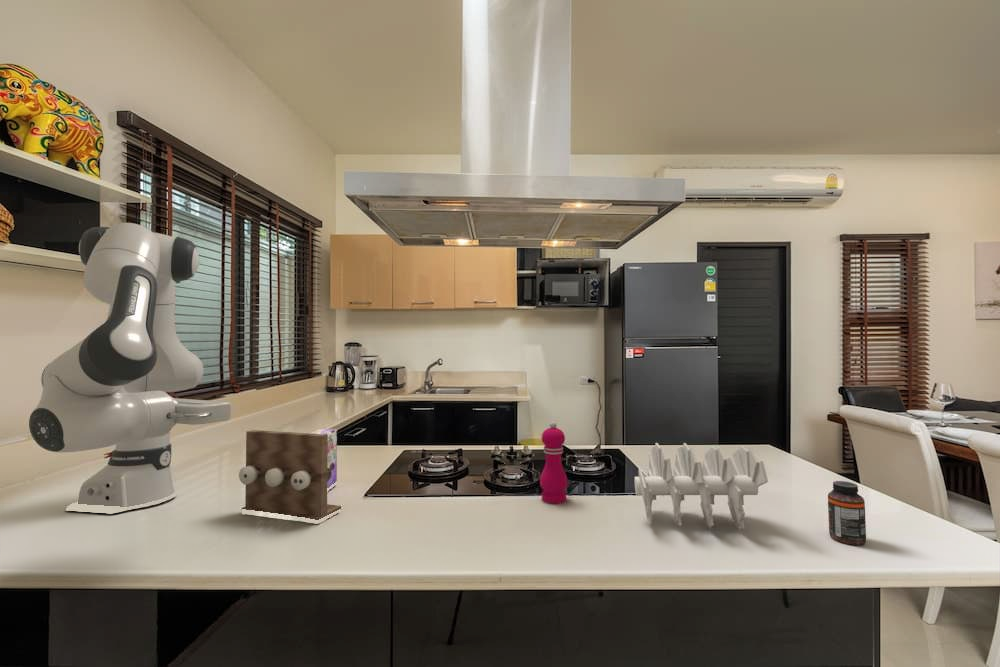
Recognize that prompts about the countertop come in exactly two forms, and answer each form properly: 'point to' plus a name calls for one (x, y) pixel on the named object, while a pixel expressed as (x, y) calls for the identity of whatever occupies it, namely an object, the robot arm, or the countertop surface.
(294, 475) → the two dot button
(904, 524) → the countertop surface
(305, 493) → the button panel
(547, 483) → the pepper mill
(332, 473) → the candy box
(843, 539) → the supplement bottle
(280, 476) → the plain button
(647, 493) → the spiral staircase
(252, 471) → the one dot button
